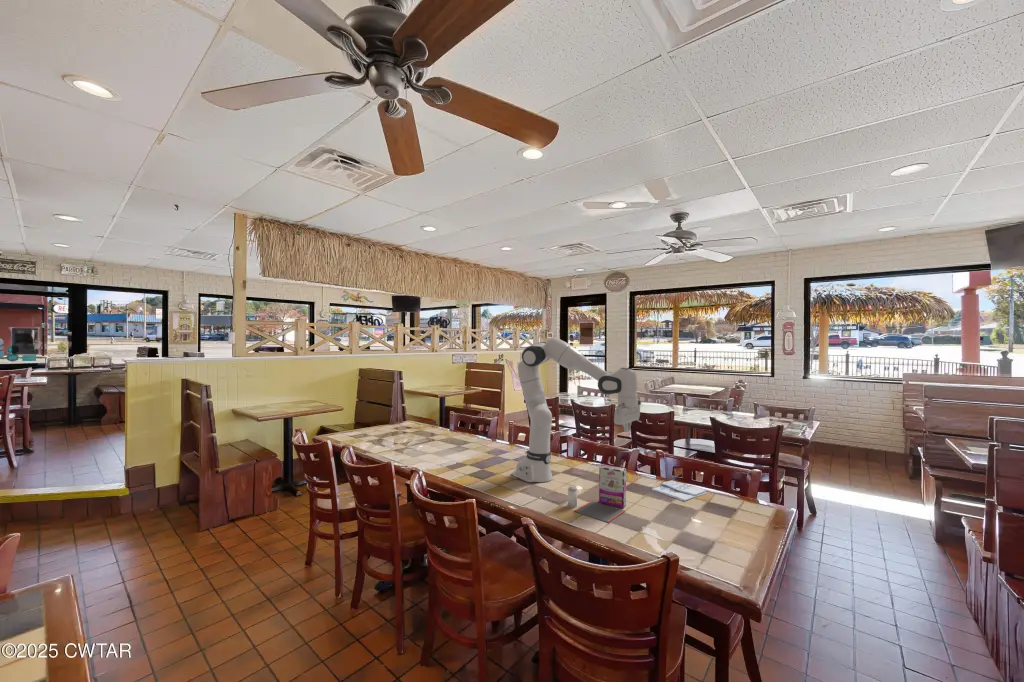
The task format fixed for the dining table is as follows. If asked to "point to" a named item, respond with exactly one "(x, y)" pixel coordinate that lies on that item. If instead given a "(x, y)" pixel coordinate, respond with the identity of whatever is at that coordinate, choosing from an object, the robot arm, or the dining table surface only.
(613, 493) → the candy bar box
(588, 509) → the bar mat
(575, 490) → the salt shaker
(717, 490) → the dining table surface
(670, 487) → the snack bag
